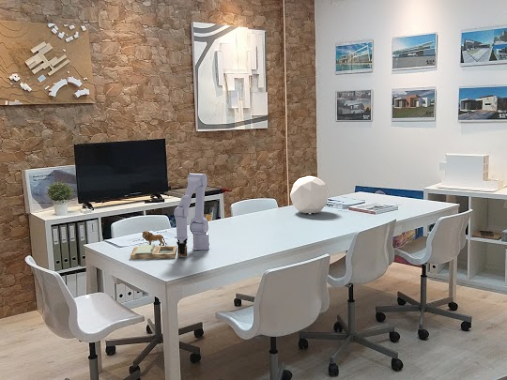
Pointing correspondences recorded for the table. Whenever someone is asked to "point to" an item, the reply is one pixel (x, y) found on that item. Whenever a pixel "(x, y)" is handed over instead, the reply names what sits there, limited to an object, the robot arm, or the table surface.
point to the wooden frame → (156, 253)
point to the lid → (145, 249)
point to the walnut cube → (182, 254)
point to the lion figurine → (152, 237)
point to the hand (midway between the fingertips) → (182, 252)
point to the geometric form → (309, 194)
